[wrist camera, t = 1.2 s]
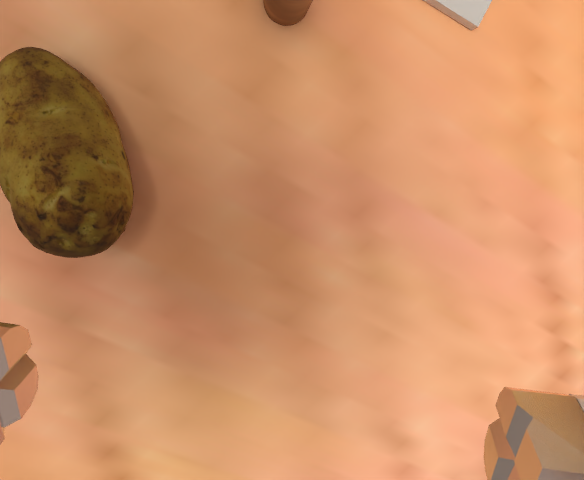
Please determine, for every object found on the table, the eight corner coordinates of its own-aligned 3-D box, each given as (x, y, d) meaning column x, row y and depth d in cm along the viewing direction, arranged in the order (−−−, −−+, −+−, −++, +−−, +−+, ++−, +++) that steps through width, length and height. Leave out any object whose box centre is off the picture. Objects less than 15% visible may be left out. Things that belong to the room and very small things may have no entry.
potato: (139, 59, 35) (112, 29, 27) (145, 242, 36) (122, 264, 29) (12, 55, 34) (-55, 22, 26) (25, 243, 35) (-33, 266, 28)
